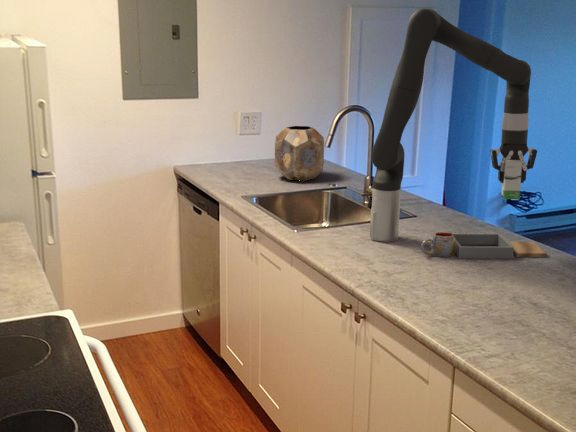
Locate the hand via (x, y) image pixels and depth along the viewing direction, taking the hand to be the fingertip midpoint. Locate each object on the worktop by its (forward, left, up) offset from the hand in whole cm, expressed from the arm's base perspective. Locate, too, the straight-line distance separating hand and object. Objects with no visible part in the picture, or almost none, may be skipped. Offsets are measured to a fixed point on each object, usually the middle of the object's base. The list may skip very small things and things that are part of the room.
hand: (511, 182), depth 215 cm
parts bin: (-8, +1, -23) cm, 24 cm away
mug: (-23, -3, -23) cm, 32 cm away
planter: (-64, +107, -23) cm, 127 cm away
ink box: (0, 0, -5) cm, 5 cm away
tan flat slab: (+6, +1, -23) cm, 23 cm away
